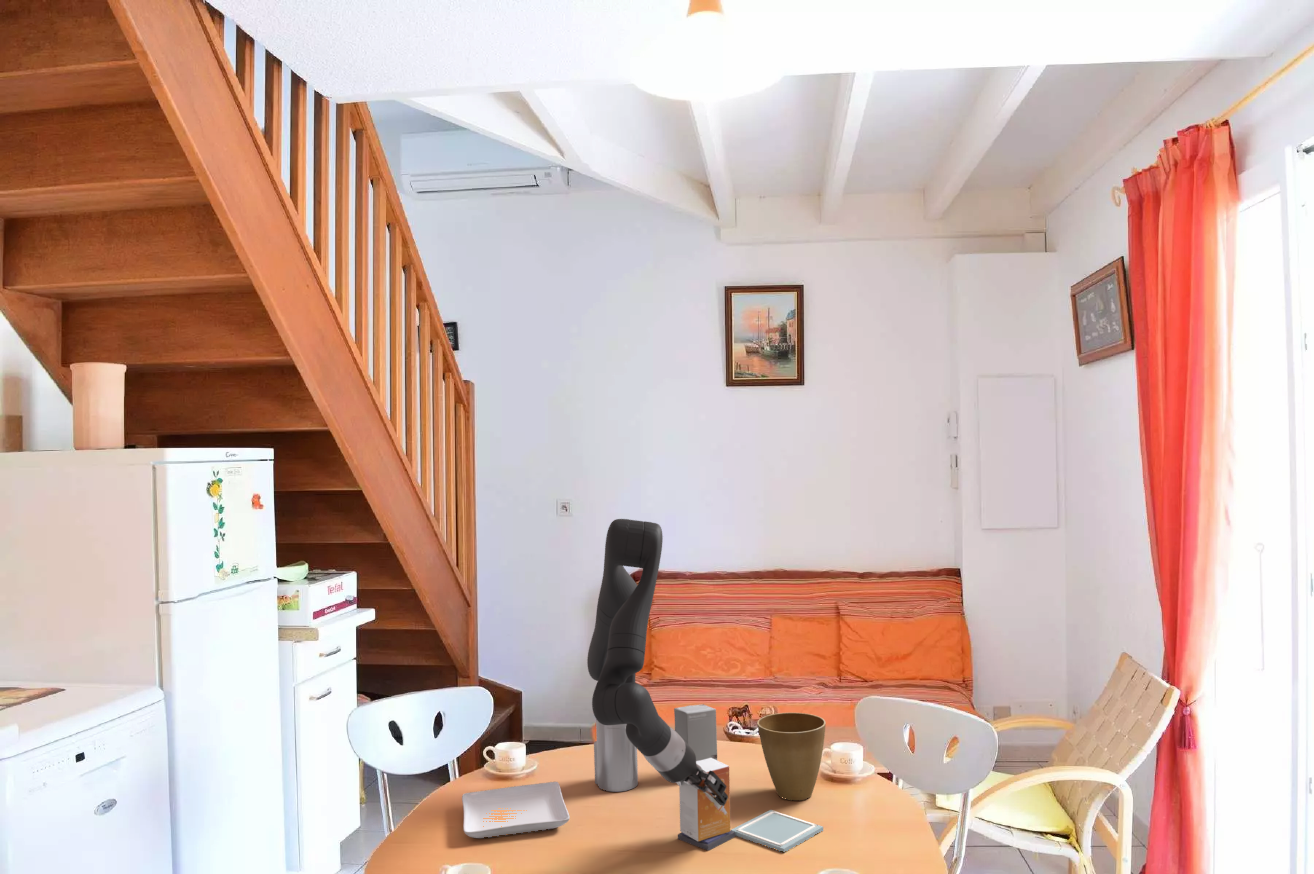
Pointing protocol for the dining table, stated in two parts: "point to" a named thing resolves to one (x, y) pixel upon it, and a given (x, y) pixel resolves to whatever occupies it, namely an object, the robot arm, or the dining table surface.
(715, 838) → the ink pad
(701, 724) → the skincare box
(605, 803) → the dining table surface
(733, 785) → the dining table surface
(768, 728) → the plant pot
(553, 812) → the salad plate
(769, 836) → the board
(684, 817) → the small box
